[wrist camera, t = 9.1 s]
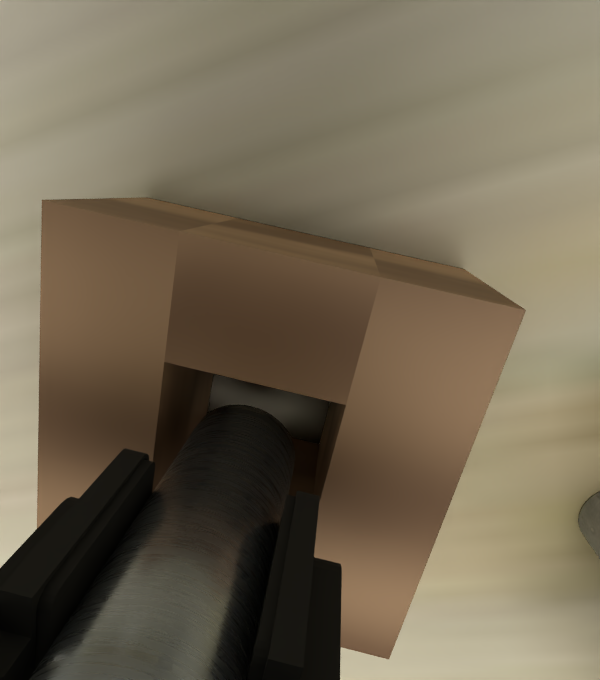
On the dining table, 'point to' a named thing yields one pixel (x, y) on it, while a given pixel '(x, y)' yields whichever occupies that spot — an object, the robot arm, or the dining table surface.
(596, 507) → the hip flask
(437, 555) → the dining table surface
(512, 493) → the dining table surface
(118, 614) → the grey metal rod
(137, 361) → the wooden square hole block
